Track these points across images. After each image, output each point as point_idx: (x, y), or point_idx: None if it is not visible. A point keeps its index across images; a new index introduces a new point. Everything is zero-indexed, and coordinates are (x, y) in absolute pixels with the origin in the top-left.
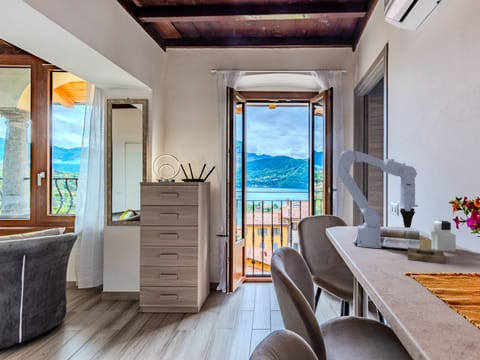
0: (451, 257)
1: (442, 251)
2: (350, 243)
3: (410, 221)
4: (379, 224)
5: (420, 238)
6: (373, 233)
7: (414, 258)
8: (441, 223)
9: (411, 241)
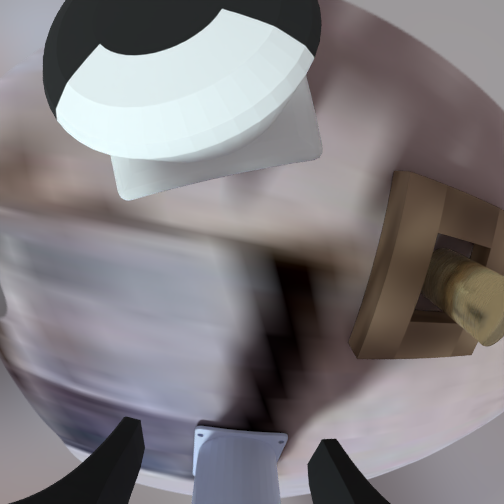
0: (418, 134)
1: (432, 180)
2: None
3: (360, 488)
4: None
5: (479, 341)
6: (280, 501)
7: None
8: (307, 51)
9: (37, 264)
